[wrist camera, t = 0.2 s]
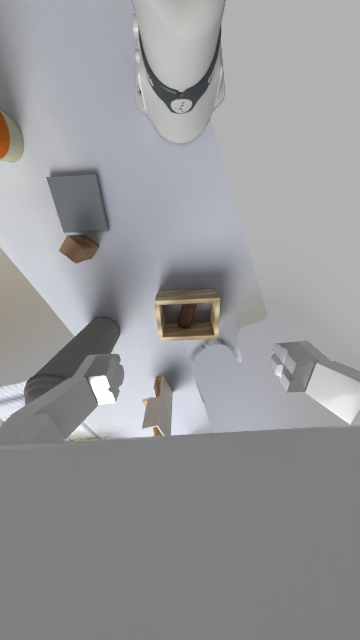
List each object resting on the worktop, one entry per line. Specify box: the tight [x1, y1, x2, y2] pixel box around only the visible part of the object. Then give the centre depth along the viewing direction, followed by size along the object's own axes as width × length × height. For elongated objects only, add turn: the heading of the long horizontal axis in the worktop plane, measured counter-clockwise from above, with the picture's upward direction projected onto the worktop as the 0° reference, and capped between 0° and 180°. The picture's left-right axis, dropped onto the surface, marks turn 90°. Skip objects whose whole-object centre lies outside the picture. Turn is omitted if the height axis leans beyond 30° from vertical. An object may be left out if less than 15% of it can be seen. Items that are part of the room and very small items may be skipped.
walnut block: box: [59, 235, 99, 263], centre depth 47 cm, size 4×4×9 cm
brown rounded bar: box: [178, 303, 197, 328], centre depth 58 cm, size 11×4×5 cm, turn 168°
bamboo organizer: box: [155, 289, 220, 341], centre depth 56 cm, size 13×18×9 cm
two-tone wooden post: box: [142, 375, 205, 437], centre depth 66 cm, size 8×12×26 cm
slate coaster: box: [46, 174, 109, 233], centre depth 46 cm, size 12×12×2 cm
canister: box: [24, 317, 120, 405], centre depth 48 cm, size 13×13×35 cm
